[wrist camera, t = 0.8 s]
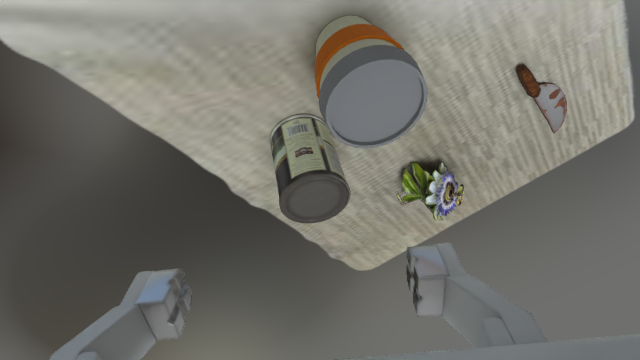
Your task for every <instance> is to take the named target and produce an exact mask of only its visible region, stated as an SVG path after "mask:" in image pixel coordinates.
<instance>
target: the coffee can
mask: <svg viewBox="0 0 640 360" xmlns="http://www.w3.org/2000/svg"><path fill="white" fill-rule="evenodd" d="M270 145H271V149H272V155H273V161H274V167H275V173H276V179H277V186H278V192H279V205H280V209H281V211H282V213H283V214H284V215H285V216H286V217H287V218H289V219H291V220H293V221H295V222H299V223H317V222H322V221H325V220H328V219H330V218H332V217H334V216H336V215H337V214H338V213H340V212H341V211H342V210H343V209H344V208H345V207H346V205H347V204H348V202H349V199H350V188H349V186H348V184H347V182H346V179H345V177H344V174H343V171H342V168H341V165H340V162H339V159H338V156H337V153H336V150H335V147H334V144H333V141H332V138H331V135H330V131H329V128H328V126H327V125H326V123H325V122H324V121H323V120H321V119H320V118H318V117H316V116H313V115H308V114H300V115H294V116H291V117H288V118H286V119H284V120H283V121H281V122H280V123H279V124H278V125H277V126H276V127H275V128H274V130H273V131H272V134H271V137H270Z"/></svg>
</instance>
